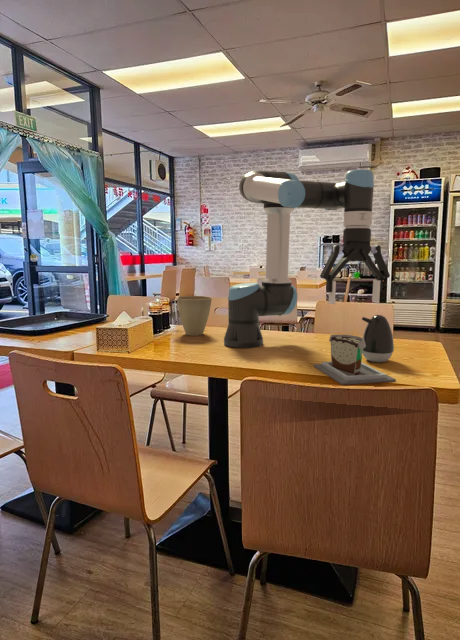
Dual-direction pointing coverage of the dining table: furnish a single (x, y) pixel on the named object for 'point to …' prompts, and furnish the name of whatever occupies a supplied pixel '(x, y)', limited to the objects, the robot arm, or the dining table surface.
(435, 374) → the dining table surface
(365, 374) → the mat
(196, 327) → the plant pot
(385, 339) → the pump dispenser
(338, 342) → the food container
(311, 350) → the dining table surface
